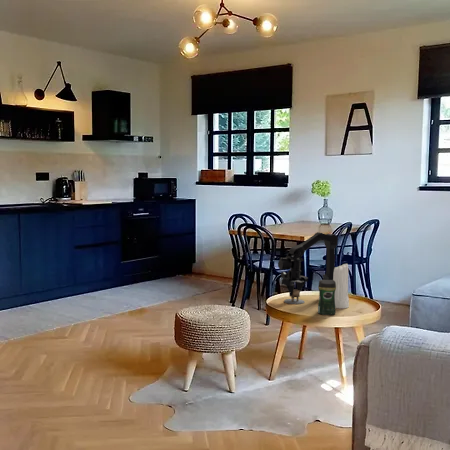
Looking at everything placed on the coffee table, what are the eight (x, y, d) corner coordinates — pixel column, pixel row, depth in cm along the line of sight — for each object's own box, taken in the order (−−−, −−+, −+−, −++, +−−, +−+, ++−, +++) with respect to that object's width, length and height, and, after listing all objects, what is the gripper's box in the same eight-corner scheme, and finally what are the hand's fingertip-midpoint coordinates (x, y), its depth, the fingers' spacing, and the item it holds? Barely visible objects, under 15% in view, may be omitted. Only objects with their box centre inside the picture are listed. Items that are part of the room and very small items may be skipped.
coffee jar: (334, 312, 307) (335, 278, 306) (336, 315, 300) (337, 281, 298) (316, 311, 308) (317, 278, 306) (318, 315, 300) (319, 281, 299)
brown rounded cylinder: (301, 301, 331) (301, 290, 330) (295, 302, 326) (295, 291, 326) (293, 299, 335) (293, 288, 334) (287, 301, 331) (287, 290, 330)
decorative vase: (327, 306, 319) (328, 263, 317) (332, 303, 329) (334, 261, 326) (345, 309, 314) (347, 265, 312) (350, 305, 324) (352, 263, 321)
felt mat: (308, 302, 331) (308, 301, 331) (296, 305, 322) (296, 304, 322) (292, 298, 339) (292, 297, 339) (280, 301, 331) (280, 300, 330)
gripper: (294, 265, 341) (293, 290, 342) (274, 268, 328) (274, 294, 329) (309, 267, 333) (308, 293, 335) (289, 271, 320) (288, 297, 321)
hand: (294, 294), depth 330 cm, fingers open, 7 cm apart
